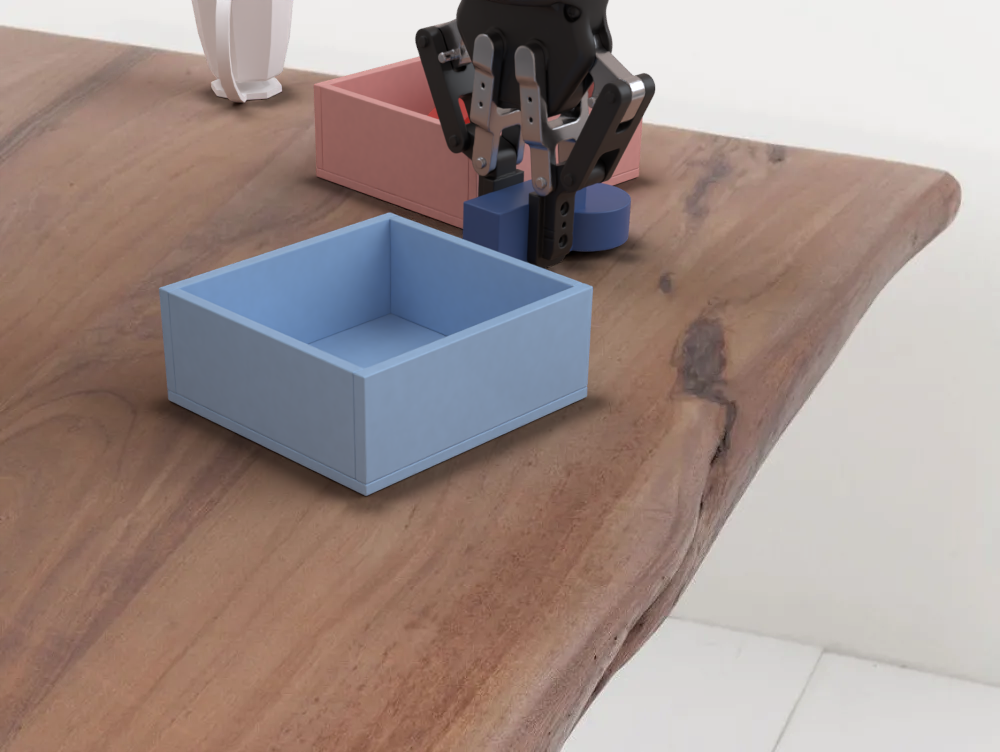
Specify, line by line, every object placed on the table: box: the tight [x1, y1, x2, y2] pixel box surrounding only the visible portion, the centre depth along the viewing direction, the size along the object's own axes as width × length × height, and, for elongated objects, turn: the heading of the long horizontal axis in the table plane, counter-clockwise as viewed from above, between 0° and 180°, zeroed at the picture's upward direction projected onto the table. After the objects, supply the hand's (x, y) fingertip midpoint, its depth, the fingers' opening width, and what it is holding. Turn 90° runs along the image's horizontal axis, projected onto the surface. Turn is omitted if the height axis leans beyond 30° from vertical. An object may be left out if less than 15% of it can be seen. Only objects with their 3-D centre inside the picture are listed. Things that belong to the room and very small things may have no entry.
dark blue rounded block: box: [462, 179, 632, 263], centre depth 94 cm, size 5×10×3 cm, turn 137°
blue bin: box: [158, 211, 594, 497], centre depth 79 cm, size 12×13×5 cm
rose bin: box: [313, 55, 644, 230], centre depth 103 cm, size 12×13×5 cm
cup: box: [191, 0, 294, 104], centre depth 113 cm, size 7×10×8 cm
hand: (524, 254), depth 93 cm, fingers closed on dark blue rounded block, 2 cm apart
